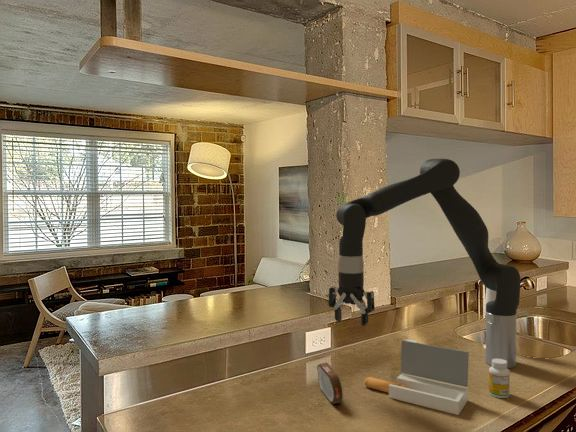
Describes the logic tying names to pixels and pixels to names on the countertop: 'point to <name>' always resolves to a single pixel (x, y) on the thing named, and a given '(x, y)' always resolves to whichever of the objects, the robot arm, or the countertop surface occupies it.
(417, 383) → the white open tray
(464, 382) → the cover
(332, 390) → the tin
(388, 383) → the rod
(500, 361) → the supplement bottle
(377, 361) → the countertop surface
